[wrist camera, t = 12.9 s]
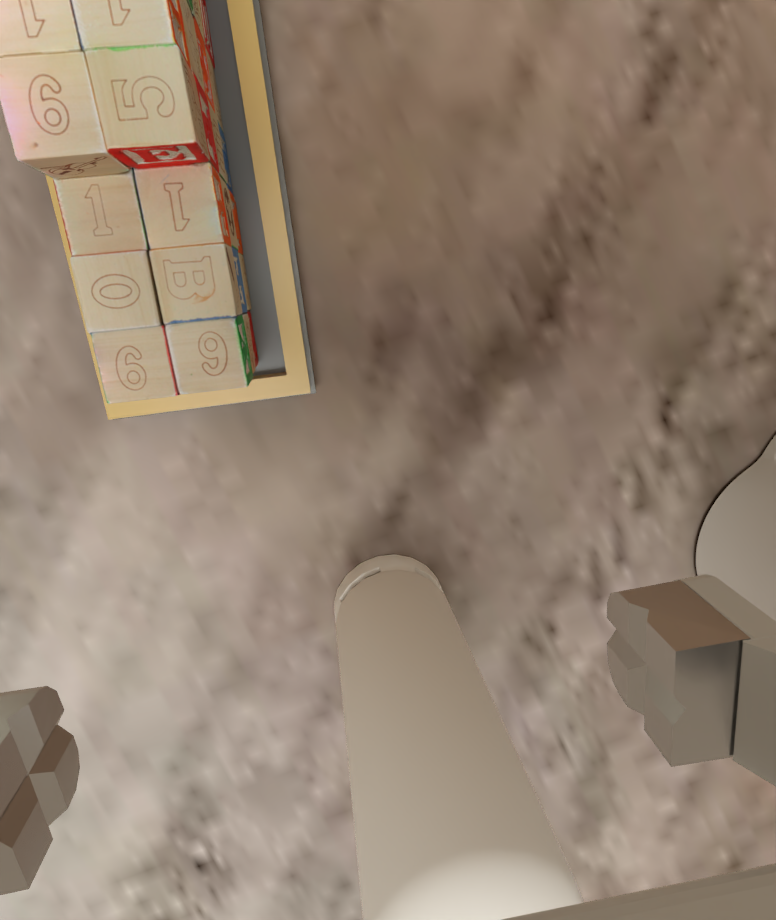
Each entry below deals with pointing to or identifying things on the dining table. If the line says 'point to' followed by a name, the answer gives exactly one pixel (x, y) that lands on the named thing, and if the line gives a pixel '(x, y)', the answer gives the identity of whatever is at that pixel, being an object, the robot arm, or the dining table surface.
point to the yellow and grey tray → (246, 221)
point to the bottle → (434, 763)
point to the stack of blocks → (135, 184)
